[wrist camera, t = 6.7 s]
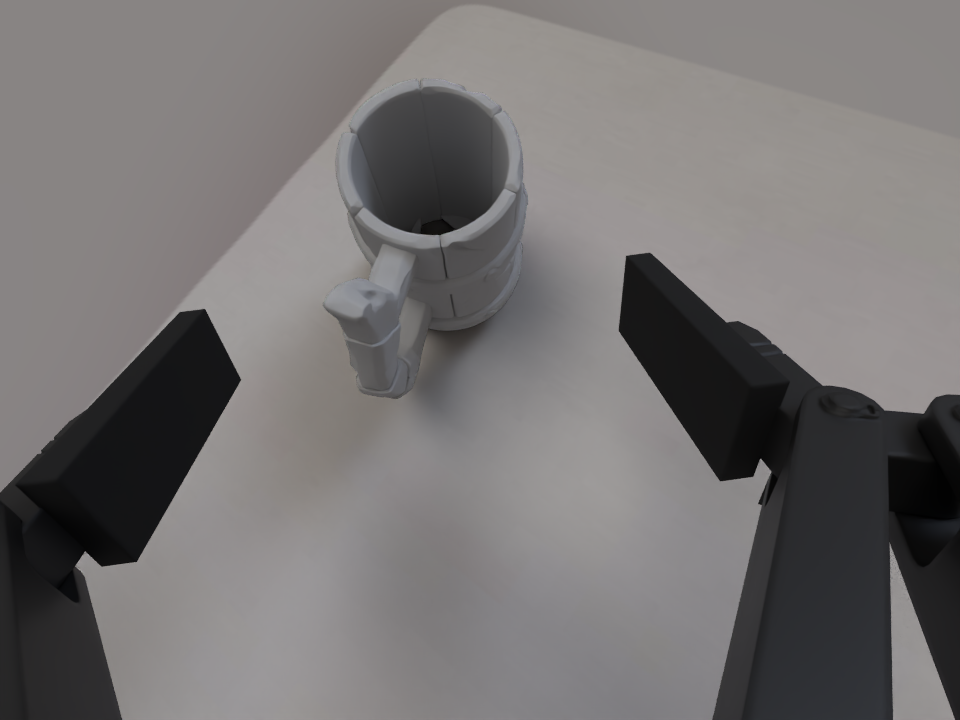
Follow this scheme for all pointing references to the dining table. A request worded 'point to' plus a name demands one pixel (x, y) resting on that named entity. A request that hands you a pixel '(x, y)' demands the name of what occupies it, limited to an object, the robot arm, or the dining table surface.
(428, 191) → the mug
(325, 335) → the dining table surface
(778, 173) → the dining table surface
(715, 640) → the dining table surface
